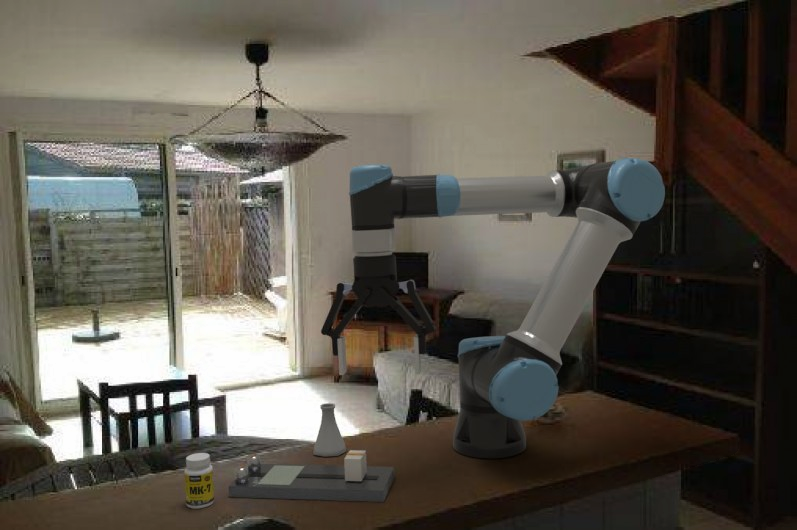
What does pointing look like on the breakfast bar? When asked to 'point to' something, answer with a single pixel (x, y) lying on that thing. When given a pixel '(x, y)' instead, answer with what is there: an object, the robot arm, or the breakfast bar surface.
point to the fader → (355, 465)
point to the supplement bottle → (199, 481)
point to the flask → (329, 434)
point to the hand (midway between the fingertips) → (380, 373)
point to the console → (308, 482)
